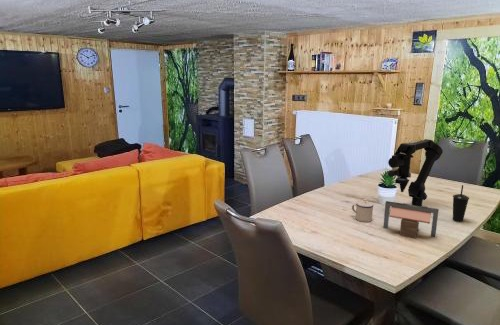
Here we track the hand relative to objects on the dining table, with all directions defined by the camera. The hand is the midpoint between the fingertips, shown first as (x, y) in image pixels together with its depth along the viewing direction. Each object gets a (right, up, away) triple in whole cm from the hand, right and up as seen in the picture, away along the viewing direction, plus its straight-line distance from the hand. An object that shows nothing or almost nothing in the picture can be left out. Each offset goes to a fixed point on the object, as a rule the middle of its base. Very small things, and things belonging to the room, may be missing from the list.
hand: (402, 192), depth 202 cm
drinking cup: (+26, -15, -11) cm, 32 cm away
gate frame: (-7, -18, -24) cm, 31 cm away
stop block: (-7, -18, -24) cm, 31 cm away
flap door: (-10, -11, -31) cm, 34 cm away
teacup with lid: (-26, -14, -7) cm, 30 cm away
